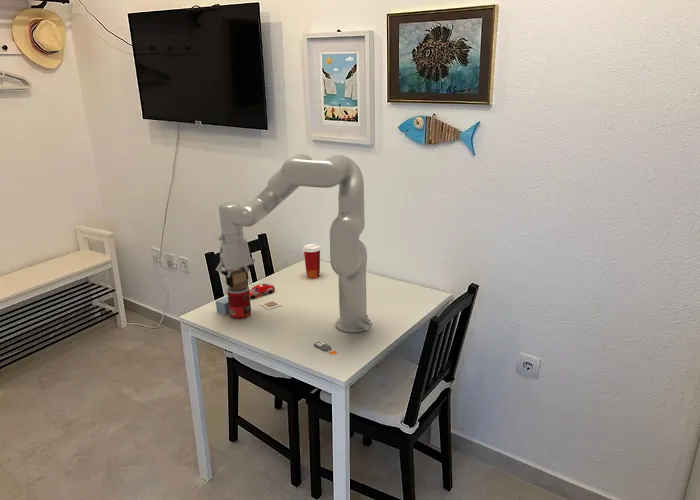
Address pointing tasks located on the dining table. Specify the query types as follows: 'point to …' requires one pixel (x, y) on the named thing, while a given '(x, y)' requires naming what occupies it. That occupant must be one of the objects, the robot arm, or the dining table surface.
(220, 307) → the slate block
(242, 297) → the canned food
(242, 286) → the walnut block
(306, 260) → the paper cup
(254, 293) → the race car
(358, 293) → the robot arm
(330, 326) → the dining table surface
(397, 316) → the dining table surface
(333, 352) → the key chain
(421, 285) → the dining table surface
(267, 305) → the swatch
